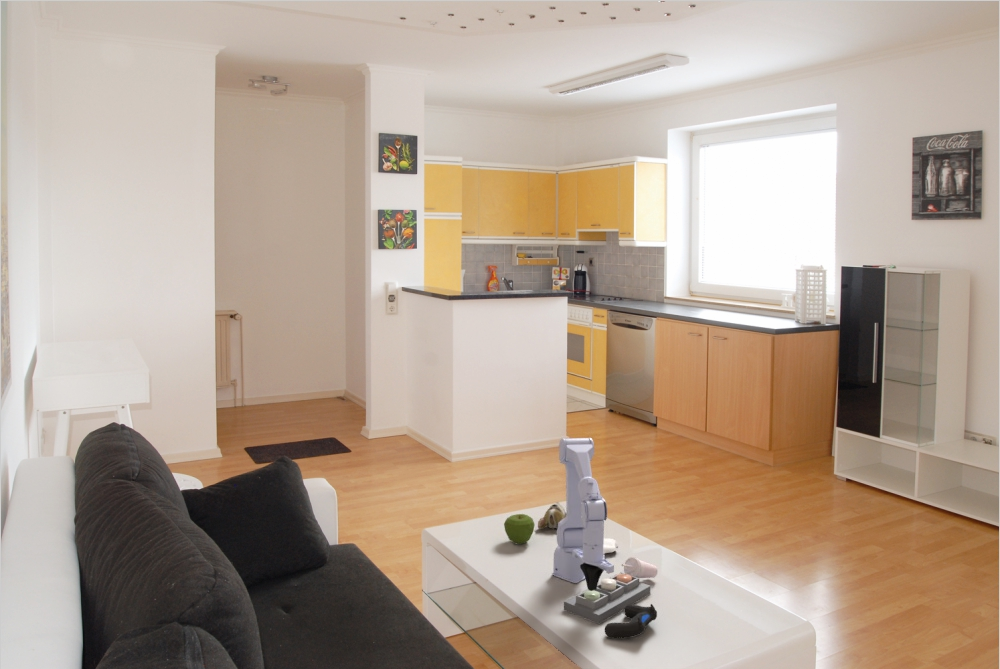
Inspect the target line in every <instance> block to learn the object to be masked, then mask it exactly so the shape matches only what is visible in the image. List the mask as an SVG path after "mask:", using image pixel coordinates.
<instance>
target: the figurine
mask: <svg viewBox="0 0 1000 669" xmlns="http://www.w3.org/2000/svg"><path fill="white" fill-rule="evenodd" d="M618 547H619V546H618V542H617V540H615V539H613V538H605V537H604V545H603V555H605V554H607V553H608V554H609V553H613V552H615V551H618V549H617V548H618Z"/></svg>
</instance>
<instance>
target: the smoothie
mask: <svg viewBox="0 0 1000 669" xmlns="http://www.w3.org/2000/svg"><path fill="white" fill-rule="evenodd" d="M621 566H622V567H623V573H625V574H628V575H631V576H634V577H637V578H639V579H650V578H651V579H653V578H654V579H655V577H657V575H658V567H657V566H656V565H655V564H652V563H648V562H646V561H643V560H641V559H639V558H637V557H628V558H627V559H626V560H625V562H624V563H623V564H622V563H621Z"/></svg>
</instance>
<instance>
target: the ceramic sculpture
mask: <svg viewBox="0 0 1000 669" xmlns="http://www.w3.org/2000/svg"><path fill="white" fill-rule="evenodd" d="M566 516H567V514H566V509H565V508H564V507H563V505H562V504H561V503H560V502H559V501H557V502H555V503H553V504H552V505H550V506H549V508H547V510H546V511H545V513H544V516H543V517H541V518H540V519H539V520H538V521H537V529H545V528H546V527H548V528H549V529H554V528H556V529H558V523H559V522H560V521H561V520H563V519H564V518H565V517H566Z"/></svg>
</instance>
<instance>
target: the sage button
mask: <svg viewBox="0 0 1000 669" xmlns="http://www.w3.org/2000/svg"><path fill="white" fill-rule="evenodd" d="M584 598H587V599H589V600H592V601H596V600H597V599H599V598H600V593H599V592H597V591H586V592H585V593H584Z"/></svg>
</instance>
